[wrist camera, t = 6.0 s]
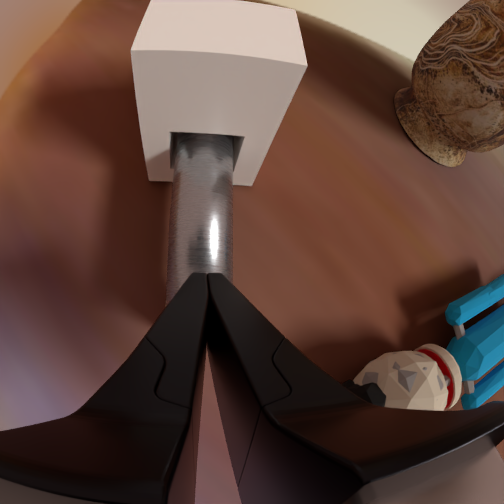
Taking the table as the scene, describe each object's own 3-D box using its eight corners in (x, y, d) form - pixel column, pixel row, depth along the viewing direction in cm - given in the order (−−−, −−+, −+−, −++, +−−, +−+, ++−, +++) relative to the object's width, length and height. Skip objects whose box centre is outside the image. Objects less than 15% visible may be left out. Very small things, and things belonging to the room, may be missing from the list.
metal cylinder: (225, 334, 17) (241, 332, 12) (167, 333, 16) (160, 331, 11) (227, 93, 21) (239, 41, 16) (185, 90, 20) (189, 37, 16)
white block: (251, 186, 19) (307, 65, 10) (148, 180, 18) (130, 50, 9) (250, 131, 20) (295, 9, 11) (157, 125, 19) (153, -4, 10)
